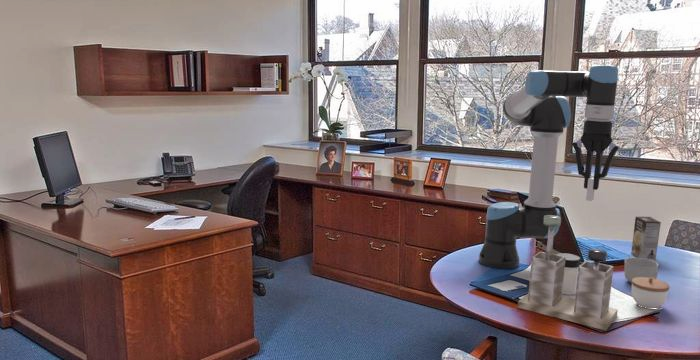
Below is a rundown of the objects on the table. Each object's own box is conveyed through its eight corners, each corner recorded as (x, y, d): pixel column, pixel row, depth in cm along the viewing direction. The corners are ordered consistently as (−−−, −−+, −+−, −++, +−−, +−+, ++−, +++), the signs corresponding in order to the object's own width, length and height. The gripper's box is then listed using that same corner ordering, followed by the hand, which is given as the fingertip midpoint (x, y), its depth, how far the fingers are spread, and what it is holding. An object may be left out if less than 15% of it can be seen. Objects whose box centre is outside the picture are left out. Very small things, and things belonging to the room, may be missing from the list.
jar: (583, 293, 195) (587, 259, 193) (565, 296, 192) (569, 262, 189) (563, 284, 203) (566, 251, 201) (545, 287, 200) (548, 254, 197)
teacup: (660, 289, 201) (663, 267, 199) (626, 286, 203) (629, 264, 201) (648, 276, 214) (650, 255, 213) (616, 273, 216) (619, 253, 215)
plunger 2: (577, 306, 174) (583, 251, 171) (583, 300, 179) (589, 246, 176) (600, 312, 170) (606, 255, 167) (605, 305, 176) (611, 250, 172)
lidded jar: (622, 299, 191) (625, 272, 189) (653, 299, 192) (657, 272, 190) (641, 312, 180) (644, 283, 179) (673, 312, 181) (677, 283, 180)
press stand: (517, 307, 181) (521, 258, 179) (532, 294, 193) (537, 248, 190) (606, 330, 166) (612, 277, 164) (617, 315, 178) (622, 265, 175)
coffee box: (630, 253, 242) (634, 216, 240) (645, 253, 242) (650, 216, 240) (640, 260, 233) (645, 221, 231) (656, 260, 233) (661, 222, 230)
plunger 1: (533, 270, 181) (538, 217, 178) (540, 265, 186) (545, 213, 183) (554, 275, 177) (559, 220, 174) (560, 270, 182) (566, 216, 179)
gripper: (571, 118, 168) (563, 198, 172) (620, 122, 160) (610, 205, 165) (578, 117, 174) (570, 194, 178) (625, 120, 166) (615, 201, 171)
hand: (589, 199), depth 171 cm, fingers closed
